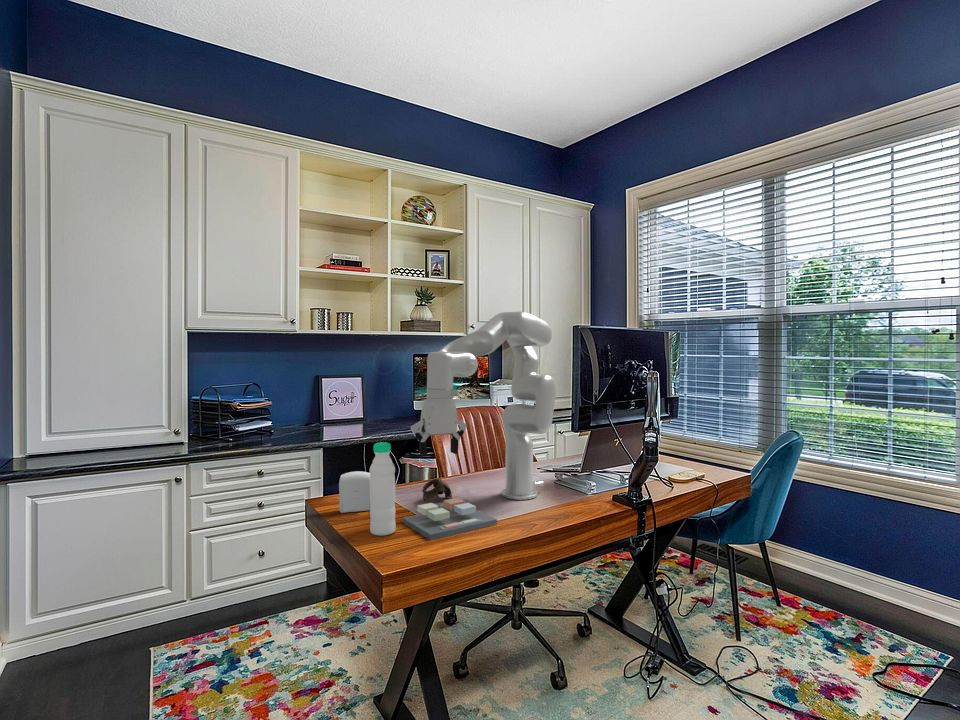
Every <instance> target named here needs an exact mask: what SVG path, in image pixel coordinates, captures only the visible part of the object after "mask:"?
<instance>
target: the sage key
mask: <svg viewBox="0 0 960 720" xmlns="http://www.w3.org/2000/svg"><path fill="white" fill-rule="evenodd" d="M445 509H446V508H443V507H439V509H434V510H429V511H427V517H428V518H430V519H432V520H434V521H438V520H443V519H448V518H450V512H449V511H447V510H445Z"/></svg>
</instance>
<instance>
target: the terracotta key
mask: <svg viewBox="0 0 960 720" xmlns="http://www.w3.org/2000/svg"><path fill="white" fill-rule="evenodd" d="M464 503H466V502H465V500H462V499H461V498H459V497H455V498H454V497H453V499H451V498H449V499H444V500H443V507H445V509H450V510H453V509H454V505H459V504H464Z"/></svg>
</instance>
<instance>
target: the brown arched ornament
mask: <svg viewBox="0 0 960 720" xmlns="http://www.w3.org/2000/svg"><path fill="white" fill-rule="evenodd" d="M430 487H433V488H432V489H430V490H427V489H429V488H430ZM421 492H422V500H424V501H425V502H426V500H429V499H433V498H434V497H437V498H439V495H443V494H444V497H445V498H449V499H453V498H454V497H453V493H452V490H451V488H450V486H449V484H447V482H445V481H443V480H442V479H441V478H433V479H431V480H429V481H428V482H426V483H425V484H424V485H423V487H422V490H421Z"/></svg>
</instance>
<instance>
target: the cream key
mask: <svg viewBox="0 0 960 720" xmlns="http://www.w3.org/2000/svg"><path fill="white" fill-rule="evenodd" d="M416 506H417V507H416V508H417V512H418V513H419V514H423V515H427V511H429V510H434V509H439V508H440V507H439V505H438V504H435V503H433V502H429V503H424V504H418V505H416Z"/></svg>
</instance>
